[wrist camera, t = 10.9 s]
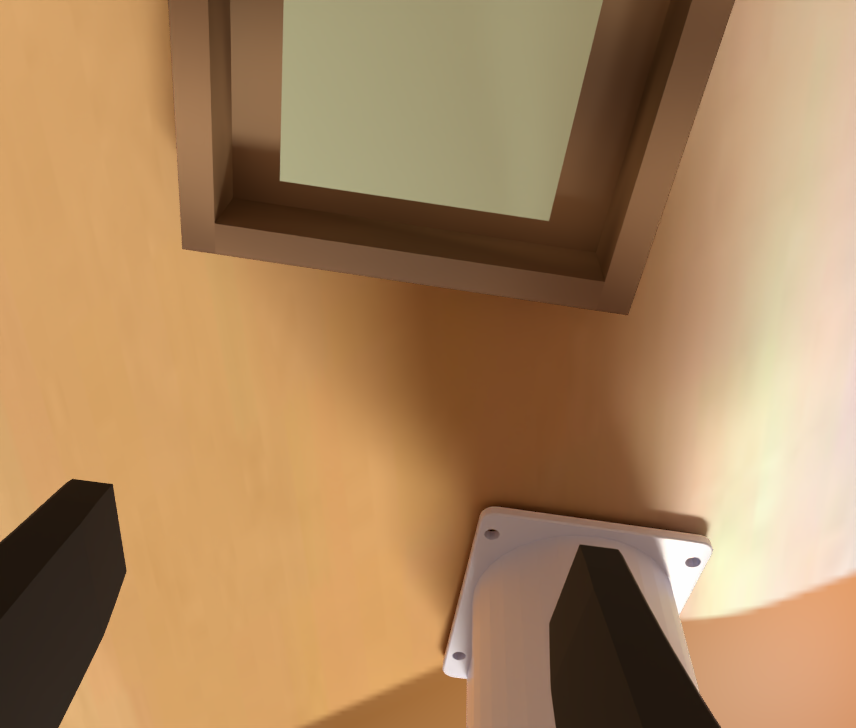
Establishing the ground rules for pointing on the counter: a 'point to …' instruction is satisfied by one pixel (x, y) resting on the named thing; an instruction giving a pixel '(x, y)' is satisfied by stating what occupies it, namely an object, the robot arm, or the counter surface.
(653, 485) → the counter surface
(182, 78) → the walnut tray
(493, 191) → the sage block
